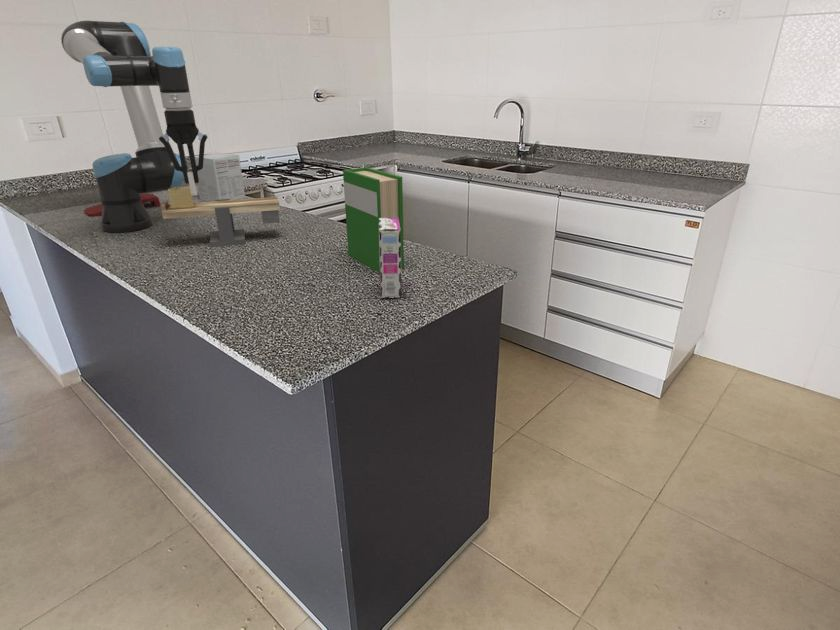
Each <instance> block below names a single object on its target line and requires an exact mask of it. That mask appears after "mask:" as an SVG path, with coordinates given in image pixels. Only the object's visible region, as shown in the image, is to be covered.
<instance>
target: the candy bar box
mask: <svg viewBox="0 0 840 630" xmlns="http://www.w3.org/2000/svg"><path fill="white" fill-rule="evenodd" d="M379 258H380V274H379V281H380V282H379V285H380V298H381V299H382V298H389V297H401V298H402V269H401V229H400V224H399V219H398V218H379Z"/></svg>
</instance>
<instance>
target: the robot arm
mask: <svg viewBox="0 0 840 630" xmlns="http://www.w3.org/2000/svg"><path fill="white" fill-rule="evenodd" d="M60 39H61V46H62V48H63V50H64V52H65V53H66V54H67V55H68V57H70V58H71V59H72V60H74V61H75V62H78V63H81V64H82V65H83V69H84V74H85V76H86V79H87V81H88V84H90V85H91V86H93V87H102V88H108V87H120V90H121V93H122V96H123V99H124V103H125V106H126V110H127V113H128V116H129V120H130V124H131V126H132V127H131V128H132V130H133V132H134V133H133V134H134V137H135V141H136V143H137V146H138V147H137V149H136V150H135V157H133V156H132V155H131V154H130V153H126V152H124V153H117V154H116V153H115V154H109V155H106V156H102V157H100V158H97V159H95V160H94V161H93V163H92V164H91V165H92V171H93V177H94V179H95V181H96V185H97V190H98V194H99V197H100V203H101V204H102V206H103V208H102V215H101V221H100V224H101V229H102V231H103V232H107V233H130V232H135V231H141V230H144V229H148V228H150V227H151V226H152V225H153V221H152V217H151V215H150V213H149V212H148V210H147V209H146V207H145V205H144V203H143V204H142V202H141V197H140V194H146V193H154V192H161V191H163V192H164V191H168V189H169V187H182V185H183V183H185V184H186V185H187V184H188V186H190V190H191V195H193V196H198V187H197V185H196V184H197V183H198V182H199V178H198V171H199V170H201V169H202V168H203V162H204V155H205V146H206V142H207V140H208V134H204V133H203V132H200V131H199V128H198V127H197V125H196V120H195V114H194V111H193V110H192V108H193V101H192V96H191V91H190V85H189V81H188V80H189V79H188V74H187V68H186V60H185V57H184V54H183V50H182V49H181V48H179V47H176V46H156V47H153V48H152V50H151V51H152V52H151V51H150V49H151V48H150V45H149V41H148V39H147V37H146V34H145V32H144V31H143V30H142V28H141V27H139V25H137V24H135V23H133V22H125V21H102V20H101V21H100V20H80V21H76V22H73V23H71V24H70V25H68V26H67V27H66V28H65V29H64V30H63V32H62V33H61V38H60ZM151 53H152V54H151ZM152 86H153V87H155V86H157V87H158V88H159V93H160V98H161V99H160V100H161V103H162V108H164V109H165V110H164V112H163V113H164V117H165V118H164V119H165V123H166V129H165V133H163V129H162V126H161V123H160V120H159V116H158V112H157V109H156V105H155V102H154V98H153V94H152V92H151V88H150V87H152ZM197 136H198V140H199V148H198V149H199V150H198V151H199V152H198V156H199V163H198V166H196V160H195V156H196V155H195V152H194V145H193V144H194V142H195V140H196V139H197ZM170 139H171V140H172V141H173V142H174V143H175V144H176V145H177V151H178V153H176V152H174V150H173V148H172V145H171V143H170ZM184 145H186V147H187V151H188V155H189V161H190V167H191V171H188V170H189V169H188V164H187V159H186V154H185V149H184V147H185V146H184Z"/></svg>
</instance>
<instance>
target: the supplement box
mask: <svg viewBox="0 0 840 630" xmlns="http://www.w3.org/2000/svg"><path fill="white" fill-rule="evenodd" d="M195 160H196V166H198V163H199V155H195ZM242 173H243V172H242V166H241V159H240V154H233V153H232V154H231V153H222V152H214V153H208V154H207V153H206V154H204V162H203V168H202V169H201V170H199V171H198V178H199V182H198V183H196V184H197V185H196V186H197V191H198V194H199V195H198V196H199V200H201V201H204V200H205V201H204V202H212V201H216V200H218V199H230V200H240V199H246V195H245V194H246V193H245V188H244V180H243V174H242Z"/></svg>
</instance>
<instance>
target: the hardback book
mask: <svg viewBox="0 0 840 630" xmlns="http://www.w3.org/2000/svg"><path fill="white" fill-rule="evenodd" d="M342 177H343V194H344V207H345V221H346V223H345V224H346V239H347V256H348V257H349V256H350V257H351V258H350V257H349V258H350V259H352V258H353V259H352V260H354V259H355V260H354V261H356V260H357V261H359V262H360V263H359V262H358V263H359V264H361V263H362V264H361V265H363V264H364V265H366V266H368V267H370V268H371V269H370V268H369V269H370V270H372V269H373V270H375V271H377V272H379V273H380V258H379V218H398V219H399V224H400V229H401V268H404V269H405V259H404V258H405V256H404V253H405V250H404V203H403V201H404V197H403V195H404V194H403V176H402V175H398V174H393V173H389V172H386V171H383V170H382V171H381V170H380V169H379V170H378V169H374V168H372V167H359V168H351V169H349V168H348V169H342ZM357 261H356V262H357ZM364 265H363V266H364ZM366 266H365V267H366ZM368 267H367V268H368ZM373 270H372V271H373ZM375 271H374V272H375ZM377 272H376V273H377ZM379 273H378V274H379Z"/></svg>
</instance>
